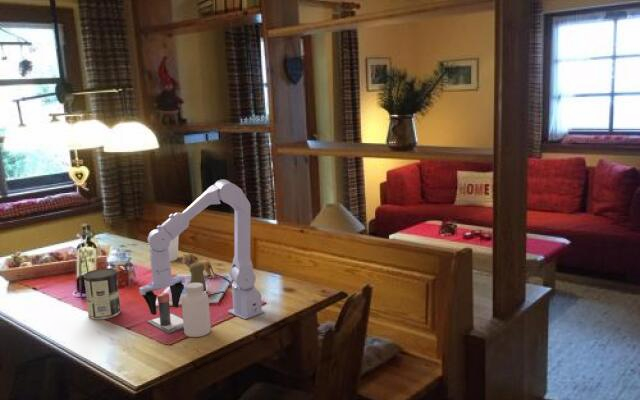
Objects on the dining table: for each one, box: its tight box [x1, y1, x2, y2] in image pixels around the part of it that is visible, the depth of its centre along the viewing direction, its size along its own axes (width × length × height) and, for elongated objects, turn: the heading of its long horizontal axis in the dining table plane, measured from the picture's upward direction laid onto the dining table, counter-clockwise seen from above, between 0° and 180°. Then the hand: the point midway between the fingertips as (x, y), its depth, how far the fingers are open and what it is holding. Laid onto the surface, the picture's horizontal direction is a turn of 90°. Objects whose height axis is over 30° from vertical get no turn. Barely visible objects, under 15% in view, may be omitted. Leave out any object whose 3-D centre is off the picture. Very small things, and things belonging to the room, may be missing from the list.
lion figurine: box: [181, 252, 219, 278], centre depth 225 cm, size 15×5×9 cm, turn 75°
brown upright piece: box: [188, 263, 207, 292], centre depth 206 cm, size 6×6×11 cm
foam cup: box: [168, 234, 180, 262], centre depth 248 cm, size 10×9×13 cm
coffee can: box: [83, 267, 122, 321], centre depth 189 cm, size 10×10×14 cm
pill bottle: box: [180, 282, 212, 338], centre depth 173 cm, size 8×8×15 cm
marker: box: [156, 292, 171, 326], centre depth 178 cm, size 3×3×10 cm
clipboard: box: [146, 312, 184, 335], centre depth 181 cm, size 13×9×1 cm
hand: (164, 310), depth 178 cm, fingers open, 7 cm apart
